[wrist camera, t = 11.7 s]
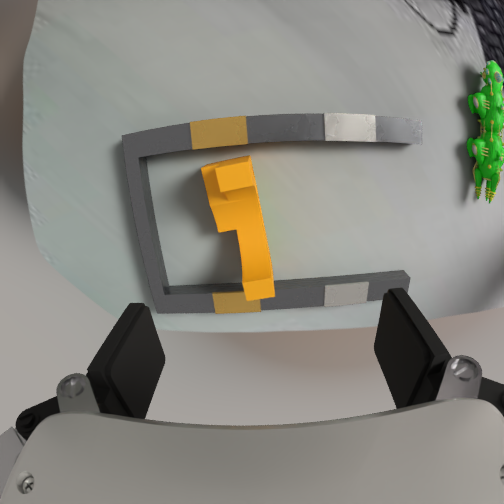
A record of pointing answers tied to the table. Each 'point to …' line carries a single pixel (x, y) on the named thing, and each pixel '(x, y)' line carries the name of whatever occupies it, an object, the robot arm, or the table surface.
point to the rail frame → (239, 133)
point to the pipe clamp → (241, 220)
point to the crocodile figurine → (488, 130)
